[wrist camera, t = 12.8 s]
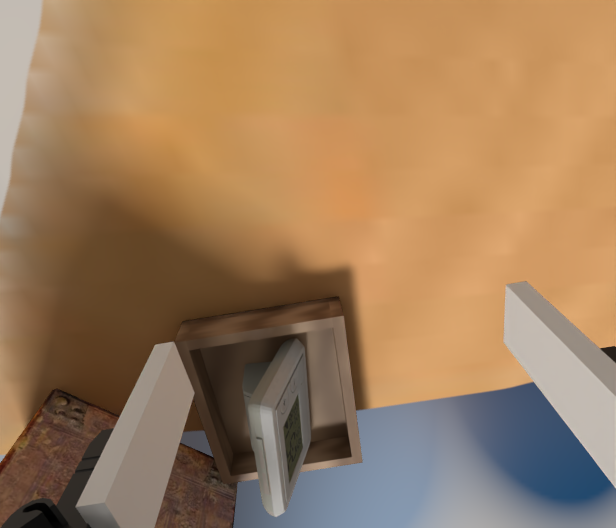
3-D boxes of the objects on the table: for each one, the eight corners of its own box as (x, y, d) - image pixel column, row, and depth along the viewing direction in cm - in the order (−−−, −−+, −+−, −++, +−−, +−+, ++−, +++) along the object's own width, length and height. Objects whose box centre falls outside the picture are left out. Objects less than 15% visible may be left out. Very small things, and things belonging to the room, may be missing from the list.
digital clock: (308, 441, 52) (314, 523, 43) (237, 437, 51) (227, 520, 42) (328, 336, 46) (341, 405, 36) (248, 329, 45) (239, 398, 35)
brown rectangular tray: (338, 296, 45) (343, 315, 41) (357, 436, 54) (362, 462, 50) (182, 321, 45) (173, 342, 41) (227, 456, 54) (223, 484, 50)
